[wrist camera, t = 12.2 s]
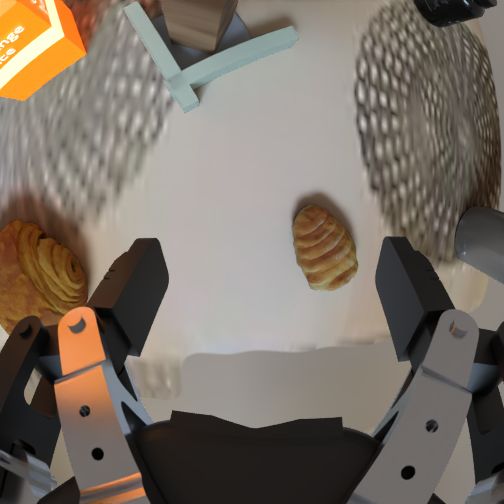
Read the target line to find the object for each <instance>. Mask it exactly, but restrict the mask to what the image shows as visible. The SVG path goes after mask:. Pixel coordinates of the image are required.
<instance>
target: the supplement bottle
mask: <svg viewBox="0 0 504 504" xmlns="http://www.w3.org/2000/svg"><path fill="white" fill-rule="evenodd" d="M414 1H415V4H416V6H417V8H418V10H419V12H420V13H421V14H422V16H423V17H424V18H425V19H426V20H427V21H428V22H430V23H431V24H433V25H434V26H437V27H446V26H450V25H453V24H457V23H460V22H464V21H468V20H471V19H475V18H479V17H482V16H483V14H484V12H485V8H486V9H487V8H490V7H494V6H496V5H497V1H496V0H414Z"/></svg>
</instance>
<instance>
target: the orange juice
mask: <svg viewBox="0 0 504 504" xmlns="http://www.w3.org/2000/svg"><path fill="white" fill-rule="evenodd" d="M84 55H86V52H85V49H84V46H83V44H82V41H81V38H80V35H79V33H78V30H77V27H76V24H75V21H74V18H73V15H72V12H71V10H70V9H69V8H68V7H67V6H66V5H65V4H64V3H63V2H62V1H61V0H0V96H2V97H8V98H13V99H18V100H23V101H24V100H26V99H27V98H28V97H29V96H30V95H31V94H33V93H34V92H35V91H36V90H37V89H39V88H40V87H41V86H42V85H44V84H45V83H46V82H47V81H49V80H50V79H51V78H53V77H54V76H55V75H57V74H58V73H59V72H61V71H62V70H64V69H65V68H66V67H68V66H69V65H71V64H72V63H74V62H75V61H77V60H78V59H80V58H81V57H83V56H84Z"/></svg>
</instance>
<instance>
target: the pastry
mask: <svg viewBox="0 0 504 504" xmlns="http://www.w3.org/2000/svg"><path fill="white" fill-rule="evenodd" d="M292 230H293V237H294V243H293V245H294V248H295V254H296V259H297V264H298V266H300V267H301V268H302V271H303V273H304V275H305V277H306V278H307V281H308V283H309V287H310V288H311V289H313V290H320V291H325V290H327V291H333V290H336V289H338V288H340V287H342V286H344V285H345V284H347V283H348V282H349V281H350V280H351V278H352V277H354V275H355V274H356V272H357V269H358V261H357V259H356V248H355V244H354V243H353V241H352V239H351V237H350V235H349V232H348V231H347V230H346V229H345V227H344V226H343V225H342V224H341V223H340V222H339V221H338V220H337V219H336V218H334V217H333V216H332V215H331V214H330V213H329V211H328V210H327V209H324V208H320V207H318V206H315V205H308V206H306V207H304V208H303V209H302V210H301V211H300V212H299V213H298V215H297V216H296V218H295V220H294V223H293V226H292Z"/></svg>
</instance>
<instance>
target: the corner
mask: <svg viewBox="0 0 504 504" xmlns="http://www.w3.org/2000/svg"><path fill="white" fill-rule="evenodd" d="M123 9H124V11H125V13H126V15H127V17H128V19H129V20H130V22H131V24H132V25H133V27H134V29H135V30H136V32H137V34H138V35H139V37H140V39H141V40H142V42H143V44H144V45H145V47H146V49H147V50H148V52H149V54H150V55H151V57H152V59H153V60H154V62H155V64H156V65H157V67H158V69H159V70H160V72H161V74H162V75H163V77H164V79H165V80H164V83H165V85H166V87H167V89H168V91H169V92H170V94H171V96H172V98H173V99H174V100H175V99H177V101H178V103H179V104H180V106H181V108H182V109H183V111H184V113H187V112H188V111H190V110H192V109H194V108H196V107H197V106H199V100H198V98H197V96H196V95H195V93H194V91H193V90H194V89H196V88H197V87H199V86H201V85H203V84H205V83H207V82H209V81H211V80H213V79H215V78H217V77H219V76H222V75H224V74H226V73H228V72H230V71H232V70H235V69H237V68H239V67H241V66H244V65H246V64H248V63H251V62H253V61H256V60H258V59H260V58H263V57H266V56H268V55H271V54H273V53H276V52H279V51H282V50H284V49H287V48H290V47H291V46H292V45H293V44H294V43H295V42H296V41H297V40H298V39H299V38H300V37H299V36H298V34H297V33H296V31H295V29H294V28H293V26H290V27H286V28H283V29H280V30H277V31H274V32H271V33H268V34H265V35H262V36H259V37H257V38H254V39H253V38H252V37H251V35H250V34H249V32H248V31H247V29H246V28H245V26H244V25H243V23H242V22H241V20H240V19H239V17H238V16H237V14H236V13H235V12H234V15H233V19H232V22H231V24H230V25H229V27H228V29H227V31H226V33H225V34H224V36H223V38H222V40H221V42H220V44H219V46H218V48H217V49H216V51H215V53H214V55H210V54H207V53H204V52H201V51H198V50H194V49H191V48H188V47H184V46H181V45H177V44H173V43H171V41H170V37H169V33H168V29H167V25H166V21H165V17H164V14H163V15H161V16H159V17H157V18H155V19H153V20H151V21H150V20H149V18H148V16H147V15H146V13H145V12H144V10H143V9H142V7H141V6H140V4H139V2H138V1H136V2H134V3H132V4H130V5H128V6H127V7H125V8H123Z"/></svg>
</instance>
